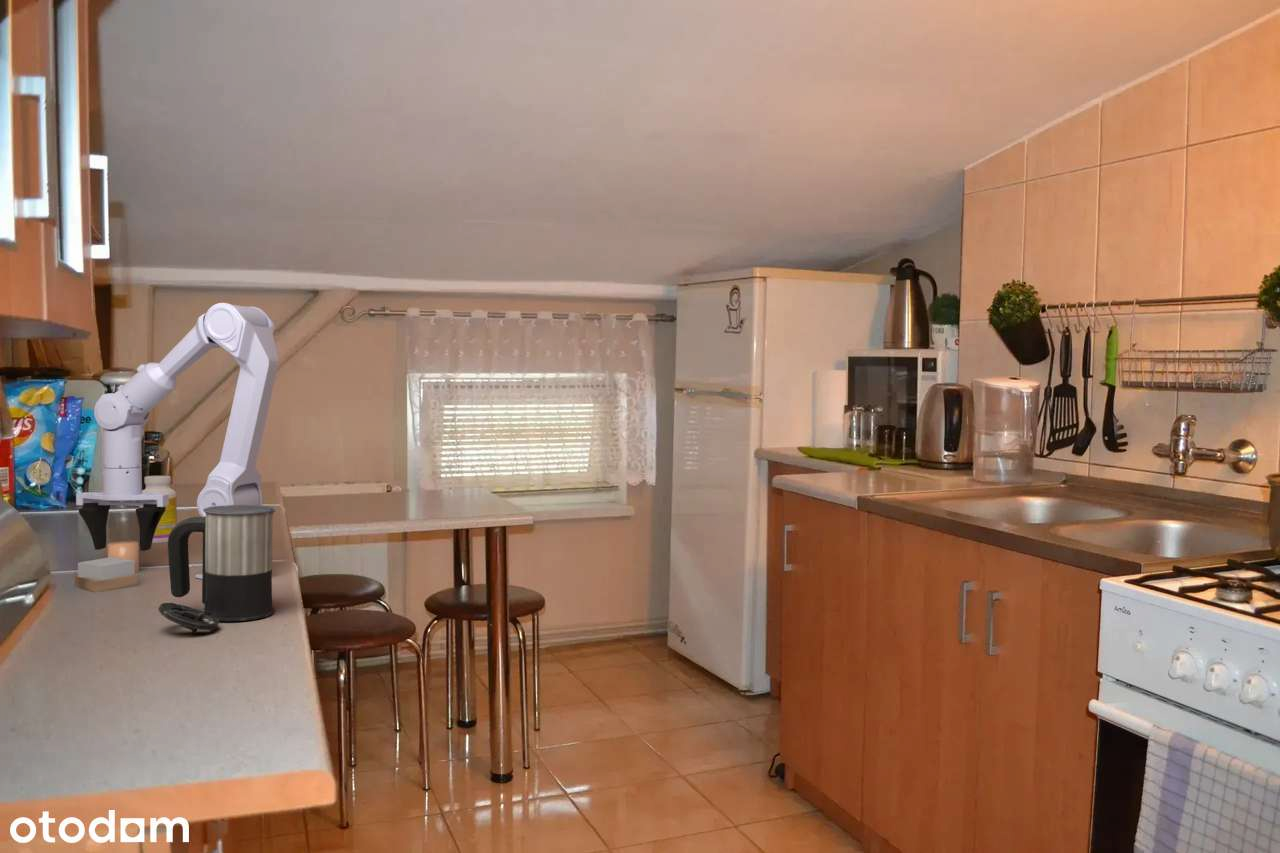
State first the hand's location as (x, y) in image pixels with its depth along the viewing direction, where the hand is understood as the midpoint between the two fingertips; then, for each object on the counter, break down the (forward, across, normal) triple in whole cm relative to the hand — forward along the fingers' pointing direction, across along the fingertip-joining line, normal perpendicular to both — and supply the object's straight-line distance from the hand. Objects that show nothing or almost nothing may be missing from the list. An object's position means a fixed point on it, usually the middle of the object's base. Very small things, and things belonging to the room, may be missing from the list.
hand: (122, 549), depth 169 cm
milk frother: (+4, -31, +32) cm, 44 cm away
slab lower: (+4, -3, +11) cm, 12 cm away
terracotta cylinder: (+4, 0, 0) cm, 4 cm away
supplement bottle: (+4, +11, -32) cm, 34 cm away
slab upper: (+2, -3, +11) cm, 12 cm away
